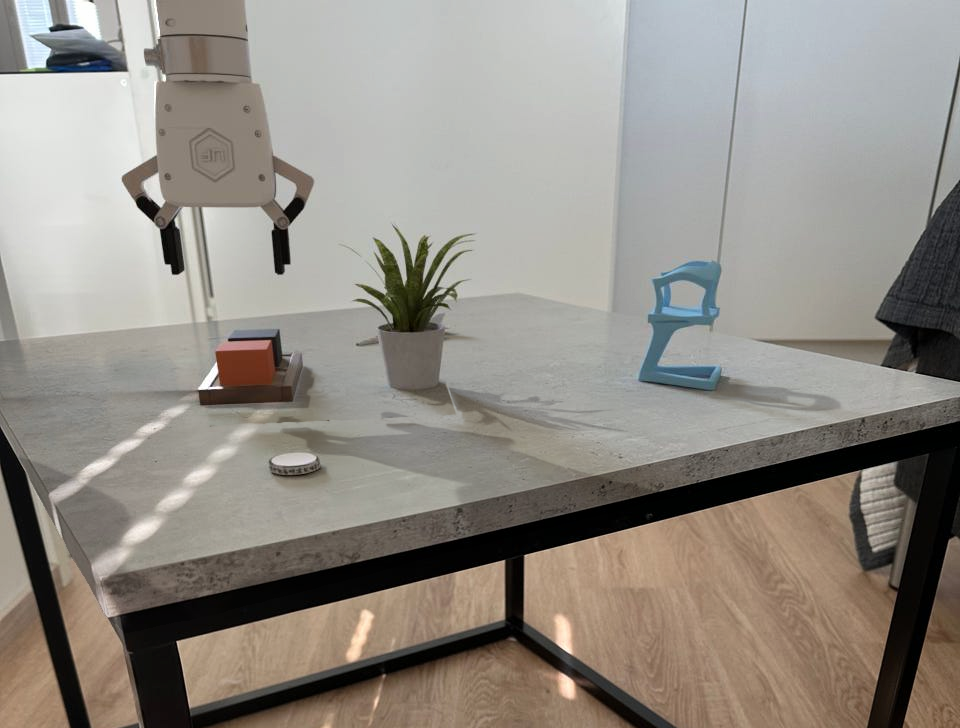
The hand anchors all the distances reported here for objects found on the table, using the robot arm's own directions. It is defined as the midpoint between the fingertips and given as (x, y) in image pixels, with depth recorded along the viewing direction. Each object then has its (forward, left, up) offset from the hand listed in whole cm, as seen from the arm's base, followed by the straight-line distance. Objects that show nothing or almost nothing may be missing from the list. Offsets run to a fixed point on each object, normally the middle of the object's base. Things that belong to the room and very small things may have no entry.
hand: (229, 273), depth 89 cm
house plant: (+19, +1, -12) cm, 22 cm away
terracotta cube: (0, 0, -11) cm, 11 cm away
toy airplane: (+19, +31, -12) cm, 38 cm away
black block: (+1, +8, -12) cm, 14 cm away
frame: (+1, +4, -12) cm, 13 cm away
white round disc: (+7, -25, -12) cm, 28 cm away
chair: (+46, 0, -12) cm, 47 cm away
